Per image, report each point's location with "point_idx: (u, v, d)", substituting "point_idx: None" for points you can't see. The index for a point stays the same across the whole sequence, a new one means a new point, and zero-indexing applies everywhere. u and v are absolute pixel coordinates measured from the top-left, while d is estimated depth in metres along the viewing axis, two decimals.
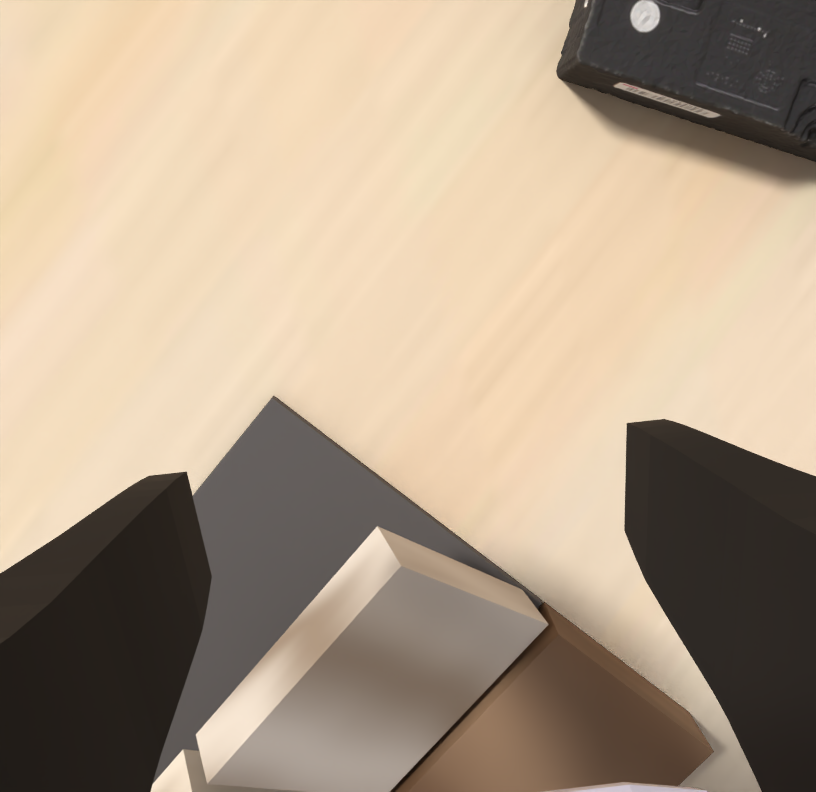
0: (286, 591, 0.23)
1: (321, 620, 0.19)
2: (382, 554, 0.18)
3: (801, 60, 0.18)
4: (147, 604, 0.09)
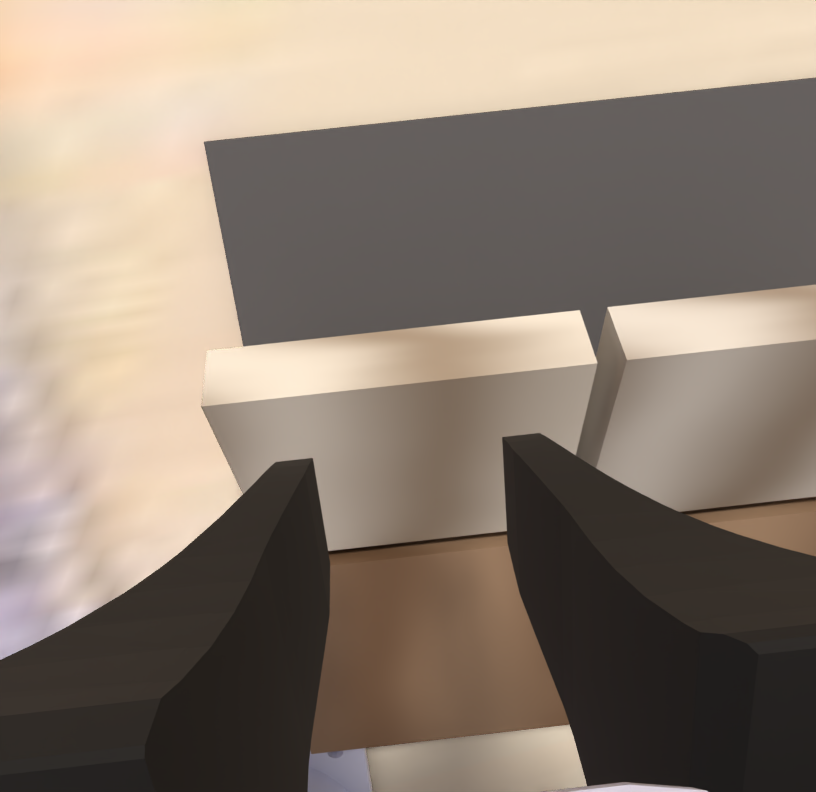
0: (684, 265, 0.19)
1: None
2: None
3: None
4: (298, 586, 0.09)
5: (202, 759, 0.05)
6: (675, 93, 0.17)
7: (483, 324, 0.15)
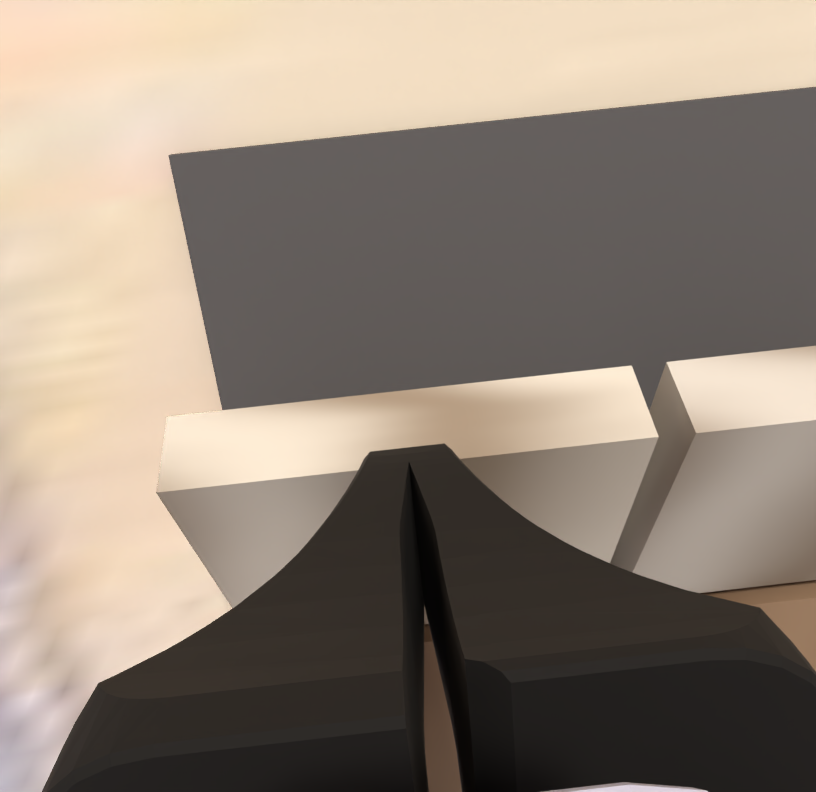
0: (745, 300, 0.16)
1: None
2: None
3: None
4: (412, 574, 0.09)
5: (413, 735, 0.05)
6: (740, 96, 0.14)
7: (512, 382, 0.12)
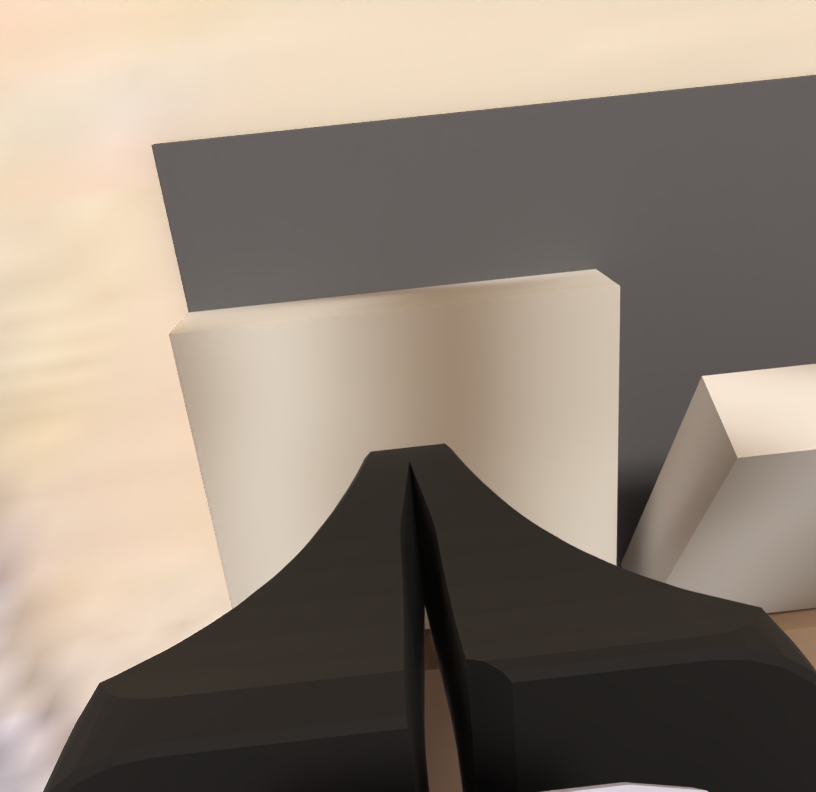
0: (780, 304, 0.15)
1: None
2: None
3: None
4: (412, 574, 0.09)
5: (413, 735, 0.05)
6: (780, 80, 0.13)
7: (491, 281, 0.14)
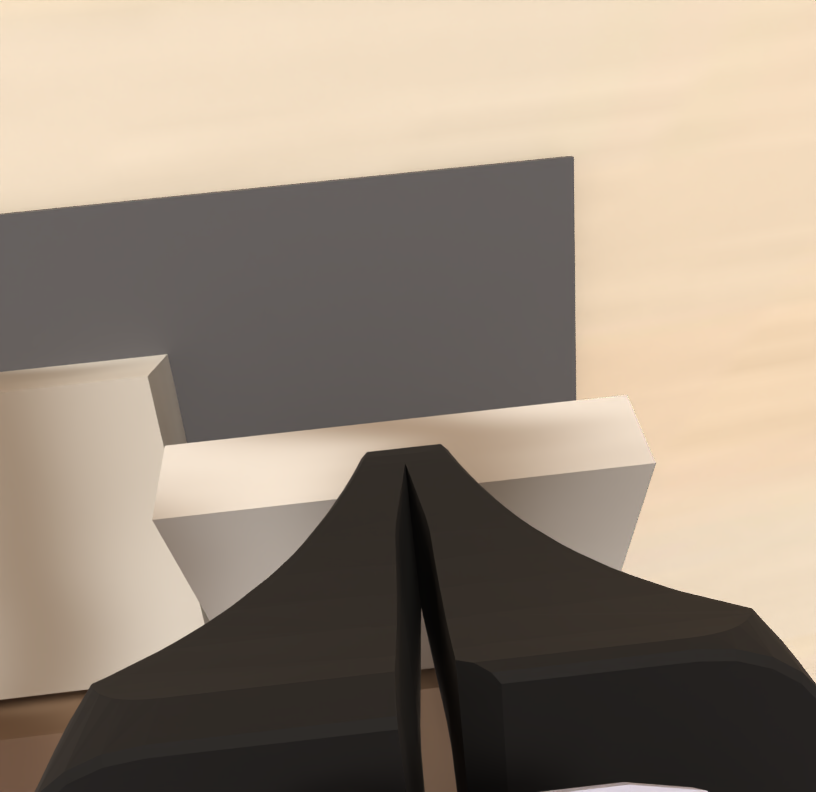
0: (354, 384, 0.15)
1: (477, 444, 0.12)
2: (625, 431, 0.12)
3: None
4: (408, 574, 0.09)
5: (406, 736, 0.05)
6: (307, 184, 0.14)
7: (65, 366, 0.15)
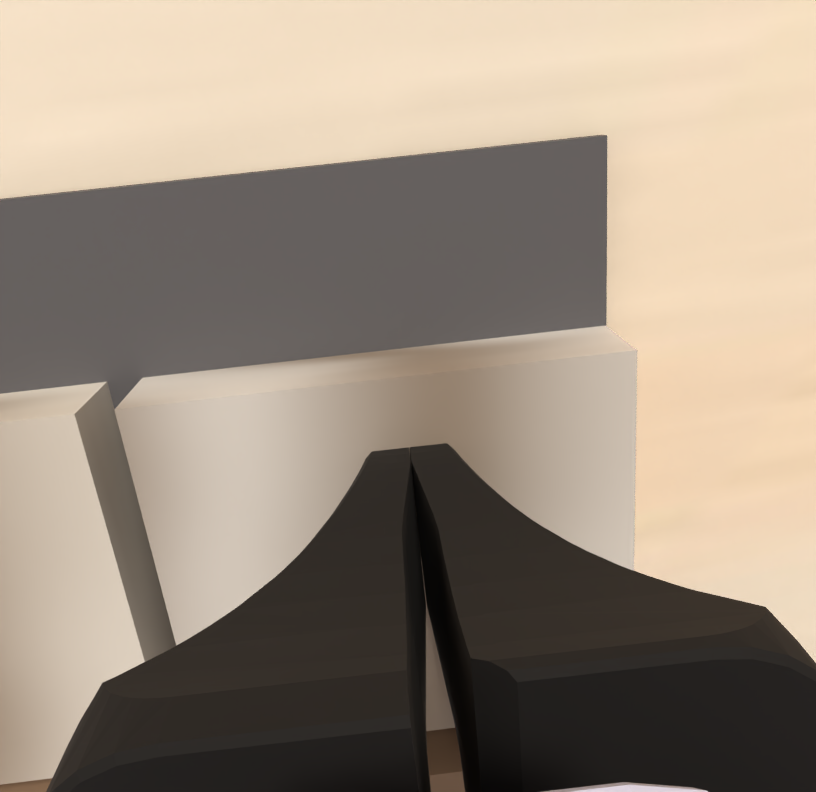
0: None
1: (454, 355, 0.12)
2: (604, 339, 0.12)
3: None
4: (414, 573, 0.09)
5: (416, 734, 0.05)
6: (274, 172, 0.11)
7: None
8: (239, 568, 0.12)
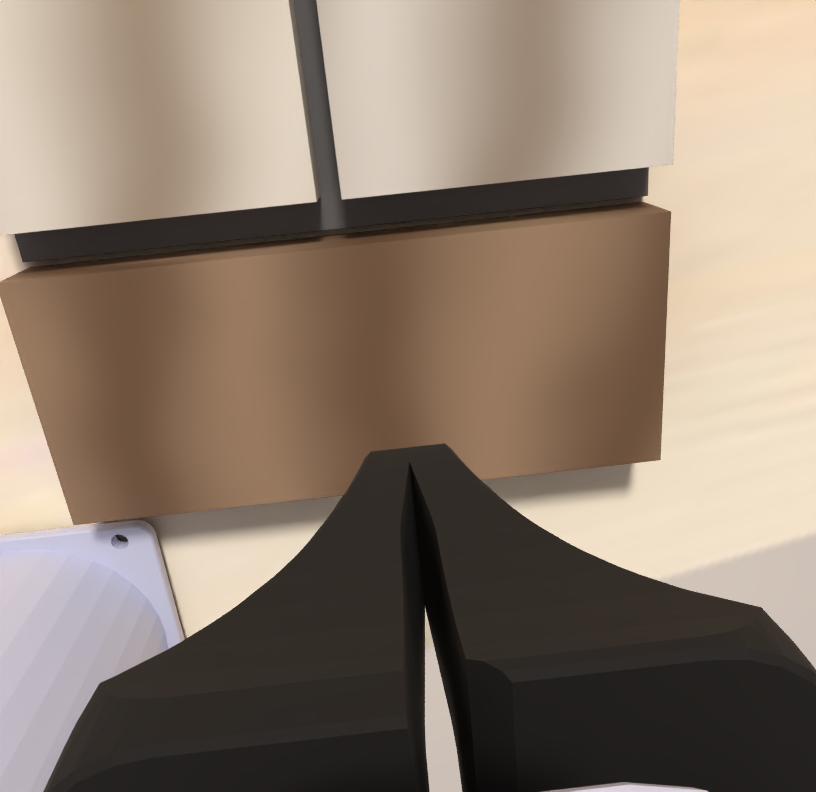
0: None
1: None
2: None
3: None
4: (413, 573, 0.09)
5: (414, 735, 0.05)
6: None
7: None
8: (379, 6, 0.16)
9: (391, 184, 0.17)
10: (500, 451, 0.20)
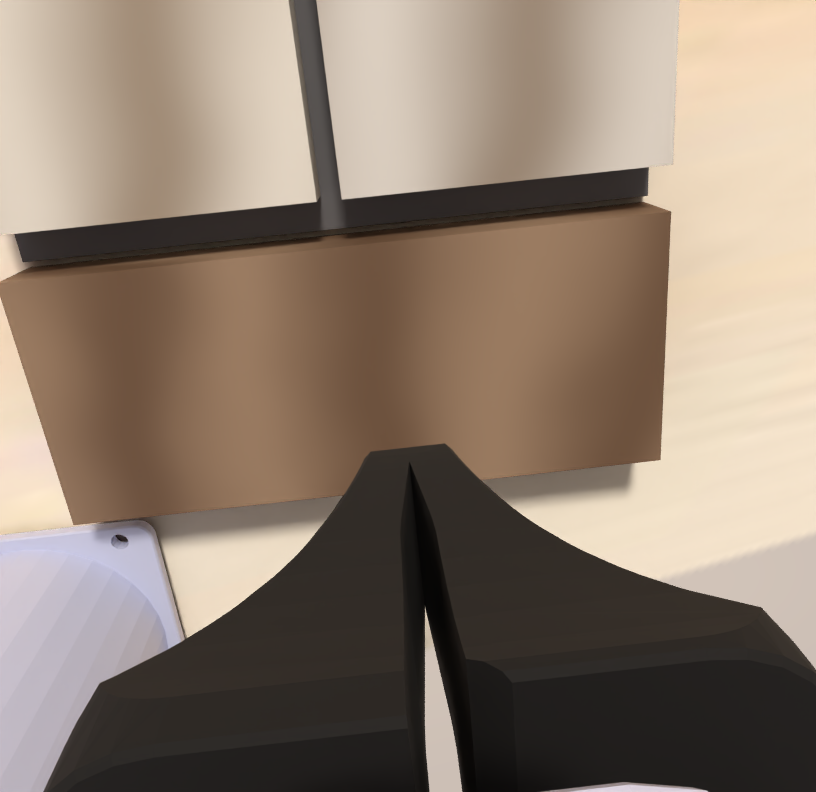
0: None
1: None
2: None
3: None
4: (413, 573, 0.09)
5: (414, 735, 0.05)
6: None
7: None
8: (378, 6, 0.16)
9: (391, 184, 0.17)
10: (500, 451, 0.20)
